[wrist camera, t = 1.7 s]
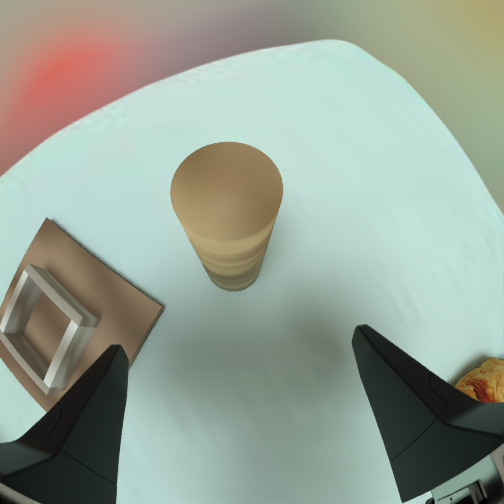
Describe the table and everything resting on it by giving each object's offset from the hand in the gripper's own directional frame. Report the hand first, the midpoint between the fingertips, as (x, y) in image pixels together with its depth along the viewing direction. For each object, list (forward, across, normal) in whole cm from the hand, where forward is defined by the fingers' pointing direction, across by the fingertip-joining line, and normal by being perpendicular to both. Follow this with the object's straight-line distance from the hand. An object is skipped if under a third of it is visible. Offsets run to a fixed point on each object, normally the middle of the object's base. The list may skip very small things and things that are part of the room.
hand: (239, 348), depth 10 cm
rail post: (+13, 0, +4) cm, 14 cm away
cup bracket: (+9, +17, +8) cm, 21 cm away
